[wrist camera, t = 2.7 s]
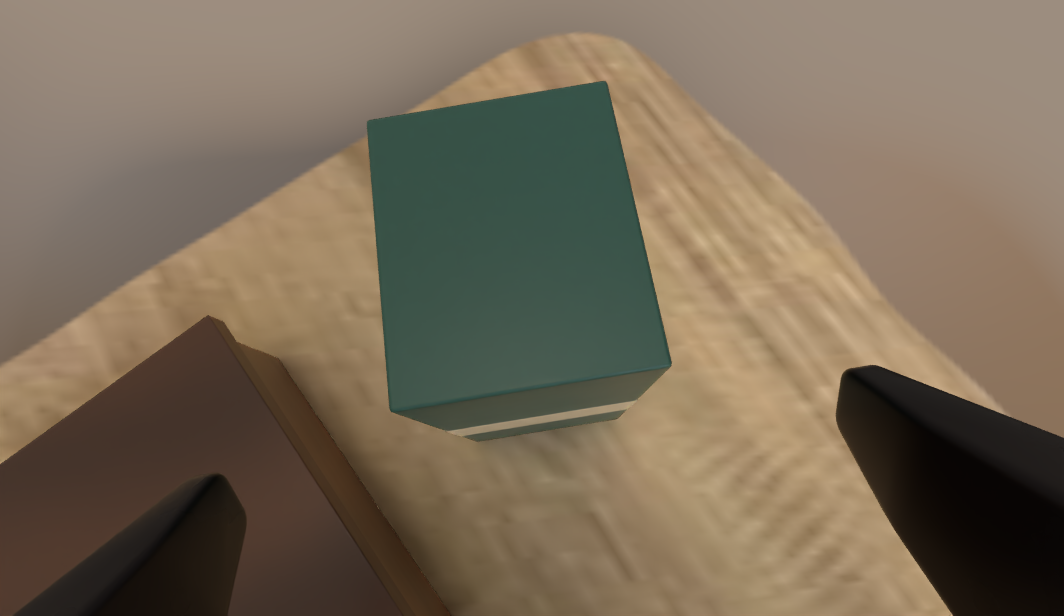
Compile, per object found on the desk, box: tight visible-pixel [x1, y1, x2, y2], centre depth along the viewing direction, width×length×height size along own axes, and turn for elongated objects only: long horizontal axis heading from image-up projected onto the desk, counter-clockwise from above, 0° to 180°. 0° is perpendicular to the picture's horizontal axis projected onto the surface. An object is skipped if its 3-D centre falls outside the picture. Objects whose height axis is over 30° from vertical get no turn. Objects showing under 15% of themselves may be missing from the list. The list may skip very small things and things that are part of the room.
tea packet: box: [367, 81, 672, 442], centre depth 15 cm, size 5×6×10 cm
